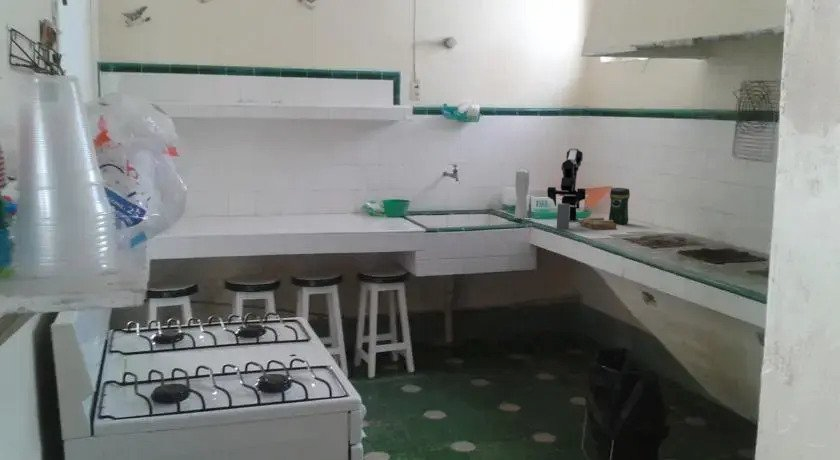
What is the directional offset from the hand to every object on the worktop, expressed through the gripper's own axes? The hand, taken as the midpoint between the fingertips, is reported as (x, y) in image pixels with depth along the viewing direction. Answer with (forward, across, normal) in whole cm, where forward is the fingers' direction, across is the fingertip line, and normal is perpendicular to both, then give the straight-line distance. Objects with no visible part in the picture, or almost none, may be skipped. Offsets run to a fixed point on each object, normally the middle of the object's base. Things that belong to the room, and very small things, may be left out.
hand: (564, 206), depth 378 cm
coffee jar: (-11, +25, +26) cm, 38 cm away
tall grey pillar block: (+10, 0, +5) cm, 11 cm away
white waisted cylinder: (-7, -24, +22) cm, 33 cm away
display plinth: (+3, +16, +12) cm, 21 cm away
